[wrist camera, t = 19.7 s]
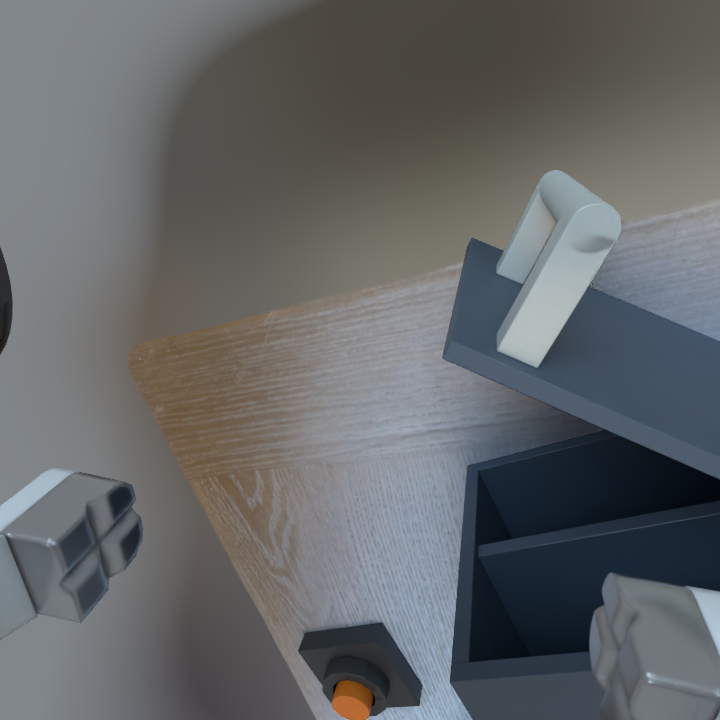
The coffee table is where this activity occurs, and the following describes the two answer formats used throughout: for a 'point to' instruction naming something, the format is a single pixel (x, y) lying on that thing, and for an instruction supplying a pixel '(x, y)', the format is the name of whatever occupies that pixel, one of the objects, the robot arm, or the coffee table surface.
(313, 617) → the coffee table surface
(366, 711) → the release button
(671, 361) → the cupboard door
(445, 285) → the coffee table surface
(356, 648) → the control block
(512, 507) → the cupboard
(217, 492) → the coffee table surface
